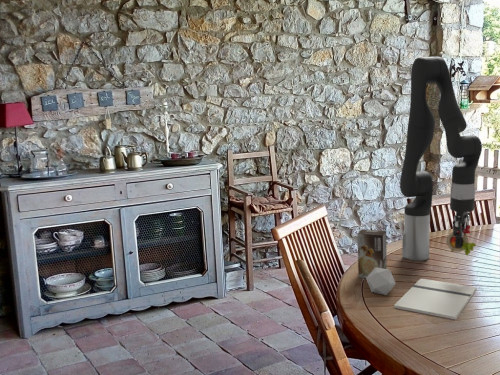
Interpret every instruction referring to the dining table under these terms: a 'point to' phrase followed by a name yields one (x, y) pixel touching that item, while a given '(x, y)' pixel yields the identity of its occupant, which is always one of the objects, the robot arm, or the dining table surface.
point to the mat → (436, 298)
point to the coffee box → (371, 251)
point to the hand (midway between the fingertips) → (460, 245)
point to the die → (380, 281)
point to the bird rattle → (466, 244)
